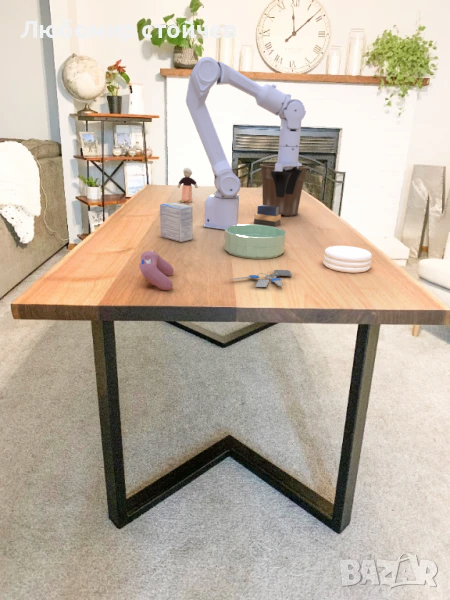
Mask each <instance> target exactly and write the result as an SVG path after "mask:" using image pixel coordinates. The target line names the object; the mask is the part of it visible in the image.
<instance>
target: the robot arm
mask: <svg viewBox="0 0 450 600" xmlns="http://www.w3.org/2000/svg"><path fill="white" fill-rule="evenodd" d="M215 84H216V86H220V85H221V86H222V85H229V86H231V87H233V88H235V89H237V90H239V91H240V92H243V93H245V94H246V95H248V96H251V97H253V98H254V99H255V103H256V105H257V106H258V107H260V108H262V109H264V110H266V111H267V112H269V113H272V114H273V115H275V116H279V117H278V118H279V119H280V128H279V138H278V139H279V140H278V153H277V161H276V163H274V164H275V171H274V170H273V171H271V175H272V178H273V180H274V184H275V190H276V196H277V197H284V196H285V192H286V194H293V193H294V190H295V186H296V183H297V180H298V178H299V176H300V175H301V173H302V170H301V169H297V168H299V166H303V163H300V161H299V153H300V144H301V143H300V142H301V132H302V120H303V119H304V118H305V116H306V114H307V113H306V112H307V111H306V109H305V108H306V107H305V105H304V103H303V102H302V101H301V100H300V99H296V98H293V99H292V94H290V93H287V94H286V93H284V92H283V91H282V90H280V89H277V84H274V83H271V84H269V83H265V84H263V85H260V84H258V83H257V82H255V81H254V80H252V79H250V78H249V77H248V76H246V75H244V74H242V73H241V72H239V71H238V70H236V69H234V68H233V67H231V66H230V65H227V64H225V63H224V62H222V61H219V60H218V61H217V60H215V58H213V57H211V56H203V57H201V58H199V60H198V61H197V62H196V64H195V65H194V67H193V69H192V70H191V73H190V75H189V77H188V83H187V90H186V96H185V105H186V106H187V109H188V111H189V114H190V116H191V119H192V122H193V124H194V126H195V129H196V132H197V134H198V136H199V139H200V141H201V144H202V147H203V149H204V151H205V153H206V156H207V159H208V162H209V164H210V166H211V170H212V173H213V176H214V179H213V181H214V182H213V184H214V187H215V189H216V191H215V192H214V193H213V194H210V195H208V196H207V197H206V199H205V202H204V220H203V221H204V223H203V225H202V227H204V228H209V229H210V228H211V229H217V230H223V231H225V229H226V228H227V227H230V226H234V225H243V224H241V223H239V208H240V194H238V193H239V192H240V190H241V188H242V187H241V185H242V184H241V180H240V178H239V177H238V176H237V175H236V174H235V173H234V172H233V171H234V170H233V169H232V167H231V165H230V163H229V161H228V159H227V156H226V153H225V151H224V148H223V146H222V143H221V141H220V138H219V136H218V132H217V131H216V130H217V129H216V127H215V125H214V123H213V120H212V117H211V114H210V112H209V110H208V107H207V104H206V101H207V98H208V96H209V94H210V90H211V89H212V88H213V86H214V85H215Z"/></svg>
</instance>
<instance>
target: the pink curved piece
mask: <svg viewBox="0 0 450 600" xmlns="http://www.w3.org/2000/svg"><path fill="white" fill-rule="evenodd" d="M138 266H139V270H140V272H141V274H142V276H143V278H144V279H145V280H146V281H147V282H148V283H149V284H150V285H151V286H154V287H157V288H158V289H159V290H162V291H171V289H173V281H172V280H171V279H170V276H172V275H173V274H174V272H175V271H174V267H173V266H172V265H171V264H170V263H169V262H168V261H167V260H165V259H163V258H162V257H161V256H160V254H158V252H155V251H154V249H152V250H147V251H145V252H142V253H141V254H140V263H139V264H138Z"/></svg>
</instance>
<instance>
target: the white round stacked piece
mask: <svg viewBox="0 0 450 600" xmlns="http://www.w3.org/2000/svg"><path fill="white" fill-rule="evenodd" d="M323 253H324V255H323V261H322V262H323V265H324V267H326V268H328V269H330V270H332V271H337V272H341V273H349V274H350V273H353V274H356V273H357V274H359V273H363V272H367V271H369V270H370V268H371V264H372V258H373V254H372V253H371V252H370V251H369V250H367V249H366V248H365V249H364V248H362V247H357V246H351V245H331V246H328V247H326V248H325V249H324V252H323Z"/></svg>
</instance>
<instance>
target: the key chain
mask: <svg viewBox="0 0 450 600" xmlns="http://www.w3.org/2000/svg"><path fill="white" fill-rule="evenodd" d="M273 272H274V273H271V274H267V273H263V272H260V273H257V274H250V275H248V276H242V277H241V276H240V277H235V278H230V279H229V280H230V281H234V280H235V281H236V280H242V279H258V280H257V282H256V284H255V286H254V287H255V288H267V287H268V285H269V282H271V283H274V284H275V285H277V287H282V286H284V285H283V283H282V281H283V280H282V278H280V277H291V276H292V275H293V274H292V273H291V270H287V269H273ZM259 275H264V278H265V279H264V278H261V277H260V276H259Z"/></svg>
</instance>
